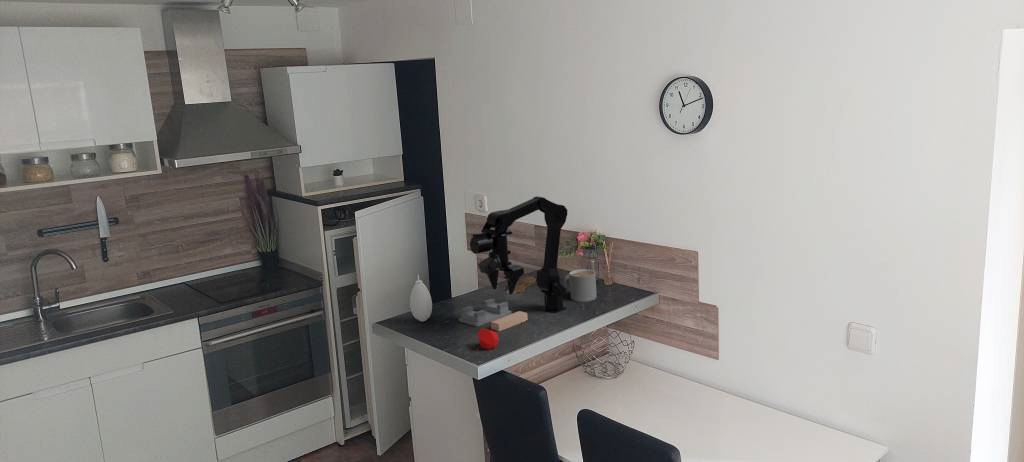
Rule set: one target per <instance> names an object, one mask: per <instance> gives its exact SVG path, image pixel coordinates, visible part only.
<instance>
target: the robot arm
mask: <svg viewBox="0 0 1024 462" xmlns="http://www.w3.org/2000/svg"><path fill="white" fill-rule="evenodd" d="M536 211H540V213H541V212H542V213H543V215H544V223H545V225H546V227H547V228H546V238H545V239H546V240H545V247H544V248H545V249H544V256H543V257H544V258H543V267H542V268H541V269H540V270H537V271H536V278H535V279H536V281H537V282H536V285H537V287H538V288H539V289H540V292H541V293H544V296H543V297H544V300H543V301H544V307H543V308H542V311H546V312H550V313H555V314H556V313H558V312H561V311H563V310H565V309H567V306H564V299H563V296H564V295H566V291H567V288H566V286H565V285H562V284H561V281H560V280H561V277H560V276H561V275H560V273H559V271H558V260H559V249H560V239H561V233H562V232H561V231H562V228H563V227H564V225H565V223H566V221H567V216H568V209H567V207H566V206H565V205H563V204H558V203H555V202H553V201H550V200H549V199H547V198H546V197H543V196H538V195H537V196H534V197H533V198H531V199H529V200H527V201H524V202H522V203H519V204H518V205H515V206H513V207H511V208H508V209H503V210H502V209H501V210H496V211H492V212H490V213H489V214H488V215H487V218H486V221H485V223H484V226H483V227H482V229H481V231H480V232H479V233H472V234H471V235H472V237H471V238H470V241H469V249H470V250H471V253H472V254H474V255H477V254H482V253H486V252H488V257H485V258H484V259H483V260H482V261H479V263H478V264H477V265H478V269H479V271H480V273H482V274H485V275H486V276H487V278H488V279H489V283H490V284H491V287H492V289H493V290H497V285H498V282H499V281H498V280H499V271H500V272H501V271H502V272H503V274H504V276H503V277H504V279H505V280H506V282H507V285H508V289H509V295H513V294H514V293H513V291H514V289H515V286H516V284H517V282H518V280H520V278H521V277H522V276H523V275H525V268H524V267H523V266H522V265H516V264H514V265H512V261H510V259H509V258H510V257H509V255H510V254H511V252H512V251H511V250H509V245H508V243H509V242H508V236H510V235H512V234H513V232H512V230H510V229H509V227H511V226H512V225H513V224H514V222H515V221H517V220H519V219H521V218H523V217H525V216H528V215H530V214H532V213H534V212H536ZM512 293H513V294H512Z"/></svg>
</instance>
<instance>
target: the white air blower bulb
mask: <svg viewBox="0 0 1024 462" xmlns="http://www.w3.org/2000/svg"><path fill="white" fill-rule="evenodd" d="M414 283H415V284H414V285H413V286H412V290H411V293H410V298H409V305H410V311H411V314H412V316H413V317H414V318H415V319H416V320H417V321H419V322H425V321H427V320H428V319H429V318H430V317H431V314H432V311H433V310H432V309H433V301H432V296H431V294H430V291H429V289H428V288H427V286H426V285H425V283H423V280H421V279H420V275H419V274H417V280H415V281H414Z"/></svg>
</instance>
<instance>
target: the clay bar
mask: <svg viewBox="0 0 1024 462" xmlns="http://www.w3.org/2000/svg"><path fill="white" fill-rule="evenodd" d="M526 320H527V321H528V312H524V311H521V310H519V311H518V310H517V311H516V312H512V314H509V315H507V316H504V317H501V318H499V319H496V320H494V321H491V322H490V326H491V329H490V330H492V331H497V332H501V331H503V330H506V329H509V328H511V327H514V326H516V325H519V324H521V322H522V323H524V322H526Z"/></svg>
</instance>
